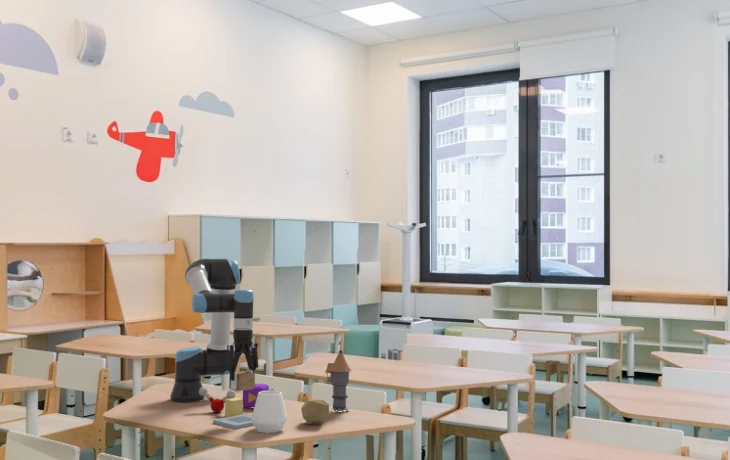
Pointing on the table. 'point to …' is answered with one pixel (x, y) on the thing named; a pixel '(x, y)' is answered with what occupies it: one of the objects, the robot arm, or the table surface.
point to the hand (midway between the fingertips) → (241, 387)
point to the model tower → (338, 380)
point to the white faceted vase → (269, 412)
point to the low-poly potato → (314, 411)
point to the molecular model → (216, 404)
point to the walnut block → (244, 381)
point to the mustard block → (233, 407)
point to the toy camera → (253, 394)
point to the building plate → (235, 421)
